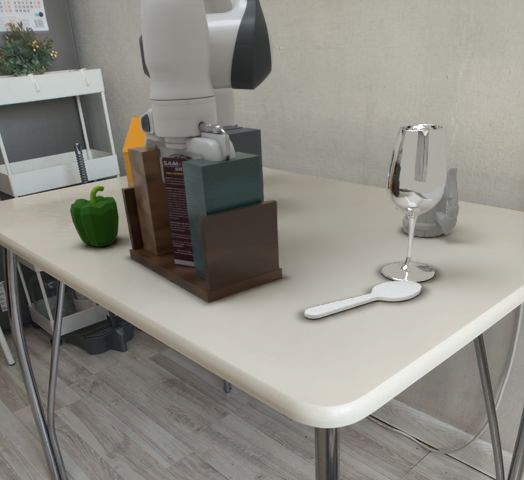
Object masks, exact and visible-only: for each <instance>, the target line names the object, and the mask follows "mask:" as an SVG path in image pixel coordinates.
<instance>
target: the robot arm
mask: <svg viewBox="0 0 524 480" xmlns="http://www.w3.org/2000/svg"><path fill="white" fill-rule="evenodd" d="M140 27H141V28H140V29H141V34H140V36H139V39H138V43H139V49H140V57H141V64H142V71H143V74H144V75H145V76H146V77H148V78H149V81H150V90H149V91H150V92H149V100H150V107H149V108H148V110H147V111H146V112H144V113H143V114H141V116H139V117H140V118H139V123H140V129H141V131H142V132H144V133H146V134H145V138H144V140H145V148H153V149H160V155H161V157H159V159H160V167H161V175H162V180H163V182H164V183H165V180H164V172H163V164H162V157H164V156H169V155H172V154H181V155H185V156H188V157H191V158H192V160H194V159H200V158H203V159H205V160H209V161H221V160H228V159H232V158H236V155H235V151H234V147H233V144H232V142H231V141H230V139H229V136H228V135H227V134H226V132H225V131H224V130H223V127H222V126H229V125H230V126H238V127H239V125H238V124H237V118H236V104H235V103H236V101H235V93H234V90H250V91H253V90H254V91H255V89H257V88H258V87H259V86H260V85H261V84H262V83H263V82H265V80H266V79H267V78H268V77H269V75H271V73H272V71H273V70H272V68H273V62H274V46H273V40H272V35H271V32H270V28H269V26H268V24H267V22H266V18H265V15H264V12H263V9H262V4H261V1H260V0H140ZM220 133H223V134H220Z"/></svg>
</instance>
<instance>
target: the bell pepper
mask: <svg viewBox="0 0 524 480" xmlns="http://www.w3.org/2000/svg"><path fill="white" fill-rule="evenodd" d="M104 190H105V186H104V185H97V186H94V187H92V189H91V190H90V194H89V196H90V197H89V199H87V198H77V199H76V200H75V201H74V202H73V203H71V205H70V209H69V212H70V216H71V220H72V223H73V225H74V228H75V230H76V233H77V234H78V237H79V238H80V240H81V242H82V243H83V244H84V245H85V246H94V247H106V246H110V245H112V244H113V243H114V242H115V241H116V239H117V238H118V235H119V223H120V222H119V221H120V218H119V217H120V216H119V210H118V204H117V202H116V200H115V198H114V197H113V196H103V195H97V193H98V192H104Z"/></svg>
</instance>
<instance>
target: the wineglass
mask: <svg viewBox="0 0 524 480" xmlns="http://www.w3.org/2000/svg"><path fill="white" fill-rule="evenodd" d="M447 166H448V164H447V149H446V139H445V131H444V126H443V125H438V124H425V123H424V124H422V123H421V124H407V125H402V126H399V127H398V130H397V134H396V137H395V142H394V144H393V148H392V153H391V157H390V161H389V164H388V170H387V175H386V195H387V198H388V200H389V201H390V203H391V204H392V206H393V207H394V208H395V209H397V210H398V212H400V213H402V214H403V215H407V216H408V219H409V234H408V238H407V248H406V257H405V260H404V261H398V262H392V263H390V264H386V265H385V266H383V267H382V269H381V274H382V276H384V277H385V278H386V279H390V280H391V281H398V280H399V281H404V280H405V281H413V282H417V283H420V282H425V281H428V280H430V279H432V278H433V277H434V276H435V274H436V273H435V270H434V269H433V268H432V267H430V266H429V265H427V264H424V263H420V262H414V260H413V249H414V248H413V247H414V238H415V236H414V229H415V224H416V220H417V217H418V216H419V215H422V214H424V213H426V212H428V211H429V210H431V209H432V208H433V207H435V206H436V205H437V203H438V202H439V201H440V200H441V198H442V196H443V194H444V192H445V187H446V179H447V172H448V167H447Z"/></svg>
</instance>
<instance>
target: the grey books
mask: <svg viewBox="0 0 524 480" xmlns="http://www.w3.org/2000/svg"><path fill="white" fill-rule="evenodd" d="M222 127H223V130H224V131H225V132H226V134H227V135H228V136H229V139H230V141H231V142H232V144H233V147H234V151H235V152H242V153H247V154H252V155H258V156H259V162H260V181H261V201H262V202H265V194H264V193H265V192H264V169H263V151H262V149H263V147H262V132H261V131H262V129H260V128H252V127H244V126H239V125H238V126H230V125H229V126H222ZM220 134H223V133H220Z"/></svg>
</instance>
